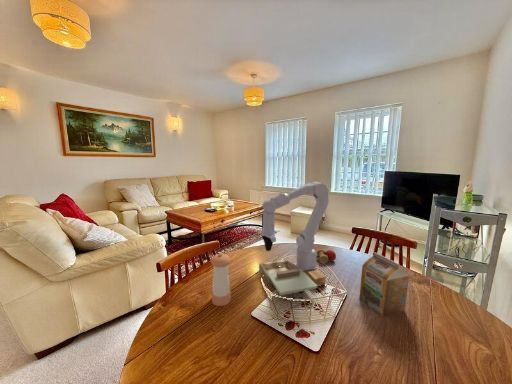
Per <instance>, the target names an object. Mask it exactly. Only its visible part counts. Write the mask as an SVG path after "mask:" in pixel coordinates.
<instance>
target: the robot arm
mask: <svg viewBox="0 0 512 384" xmlns="http://www.w3.org/2000/svg"><path fill="white" fill-rule="evenodd" d="M329 193H330V189H329V188H328V187H327V185H326V184H325V183H324V182H322V183H321V182H319V181H316V180H315V181H311V182H308V183H306V184H304V185H302V186H300V187H298V188H296V189H294V190H292V191H290V192H288V193H286V192H279V193H278V195H276V196H273V197H269V198H270V199H266V200H264V201H263V202H262V204H261V206H262V209H263V211H262V228H261V232H260V233H259V234H260V236H261V238H262V240H263V243H264V248H265V251H266V252H270V251H271V250H272V247H273V243H275V242H277V238H276V233H275V221H276V220H275V218H276V217H275V212H276V210H277V209H278V210H279V209H280V208H282V207H284V206H287V205H289V204H290V202H291V200H293V199H296V198H299V197H301V196H304V195H310V196H311V195H312V196H313V197H314V199H315V201H316V203H315V205H314V207H313V210H312V211H311V214H310V216H309V219H308V221H307V223H306V226H305V228H304V229H303V230H302V231H301V232H300V234H299V235H298V236H297V237H296V240H295V241H296V245H297V248H296V249H297V250H296V262H292V263H293V264H294V265H295V266H296V267H297V268H298V269H301V270H302V271H303V272H305V271H310V270H311V271H313V270H318V267H317V259H318V258H317V252H316V250H315V249H314V243H315V239H316V238H315V234H316V232H317V230H318V228H319V226H320V223H321V221H322V219H323V217H324V214H325V212H326V209H327V208H328V205H329Z"/></svg>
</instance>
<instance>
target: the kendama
mask: <svg viewBox="0 0 512 384" xmlns="http://www.w3.org/2000/svg"><path fill="white" fill-rule="evenodd" d="M316 255H317V259H318V260H319V262H320V264H326V263H328V262H334V261H335V260H336V258H337V254H336V252H335V251H334V250H331V249H328V250H326V251H325V250H324V249H321V248H320V249H318V250H317V252H316Z"/></svg>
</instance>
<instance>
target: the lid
mask: <svg viewBox="0 0 512 384" xmlns="http://www.w3.org/2000/svg"><path fill="white" fill-rule="evenodd" d="M268 277H269V279H270V280H271V282H272V283H273V285H274V288H275V289H276V291H277V292H278V294H279V295H280V296H284V295H288V294H293V293H298V292H304V291H309V290H315V289H318V287H317V285H316V284H315V283H314V282H313V281H312V280H311V279H310V278H309V277H308V274H306V273H305V271H302V270H301V269H292V270H286V271H280V272H276V273H269V274H268Z"/></svg>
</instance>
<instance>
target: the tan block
mask: <svg viewBox="0 0 512 384" xmlns="http://www.w3.org/2000/svg"><path fill="white" fill-rule="evenodd" d="M307 276H308V277H309V278H310V279H311V280H312V281H313V282H314V283H315V284H316V285H317V286H318V285H325V286H326V276H325V274H323V273H322V272H320V271H319V270H318V269H315V270H311V271H310V270H309V271H307Z"/></svg>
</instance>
